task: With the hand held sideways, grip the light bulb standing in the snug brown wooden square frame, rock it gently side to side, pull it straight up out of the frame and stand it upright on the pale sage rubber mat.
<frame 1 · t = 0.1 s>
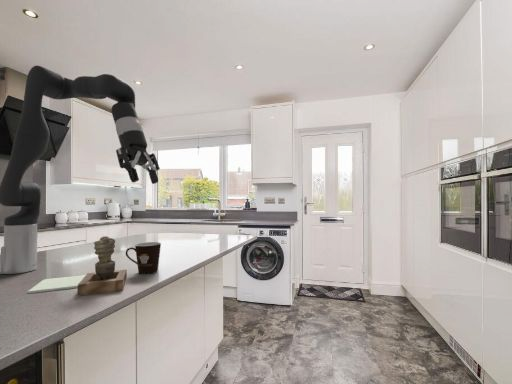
hand: (145, 182, 80), 31 cm above the countertop, tool tilted 20°, fingers open, 8 cm apart
brown wooden square frame: (104, 286, 78), on the countertop
mat: (60, 284, 80), on the countertop
light bulb: (104, 287, 78), resting in brown wooden square frame
coffee mug: (145, 272, 94), on the countertop
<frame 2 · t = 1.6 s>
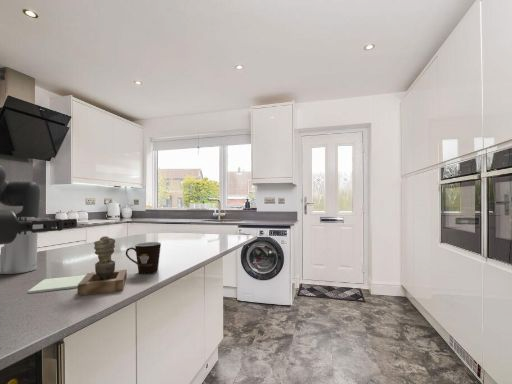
hand: (66, 222, 68), 20 cm above the countertop, tool horizontal, fingers open, 8 cm apart
nothing on the countertop moved.
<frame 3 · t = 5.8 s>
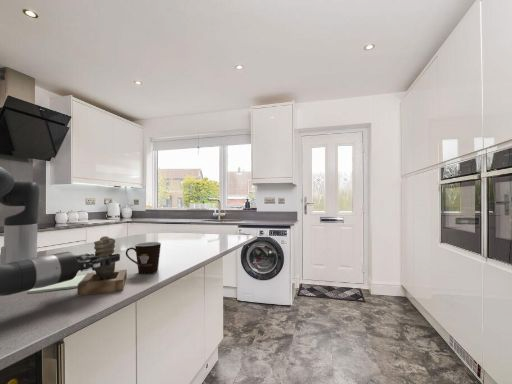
hand: (112, 256, 80), 9 cm above the countertop, tool horizontal, fingers closed on light bulb, 5 cm apart
light bulb: (104, 287, 78), resting in brown wooden square frame, touching gripper
everything else where it was.
when the fingers open (10 cm above the countertop, at t = 12.7 s): light bulb drops 1 cm, resting on mat.
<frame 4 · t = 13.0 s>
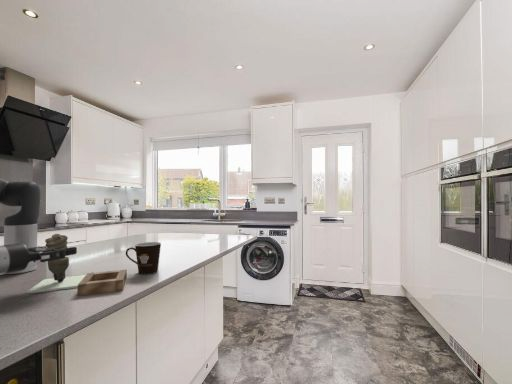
hand: (68, 249, 82), 10 cm above the countertop, tool horizontal, fingers open, 7 cm apart
light bulb: (58, 282, 80), resting on mat, touching gripper
everything else where it was.
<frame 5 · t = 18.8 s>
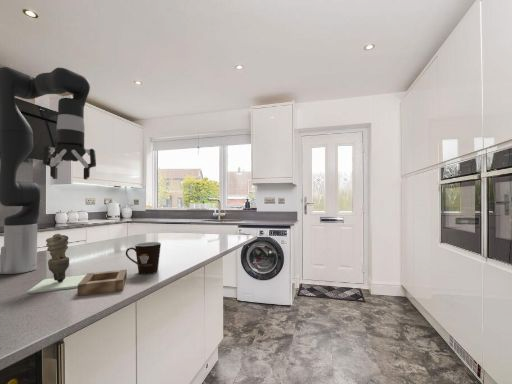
hand: (70, 179, 86), 33 cm above the countertop, tool pointing down, fingers open, 8 cm apart
light bulb: (58, 282, 80), resting on mat
everything else where it was.
at the end: light bulb inside the target area on the mat (0.8 cm from its centre), point 0.4 cm above the mat's base; light bulb tilted 1°; the gripper is holding nothing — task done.
